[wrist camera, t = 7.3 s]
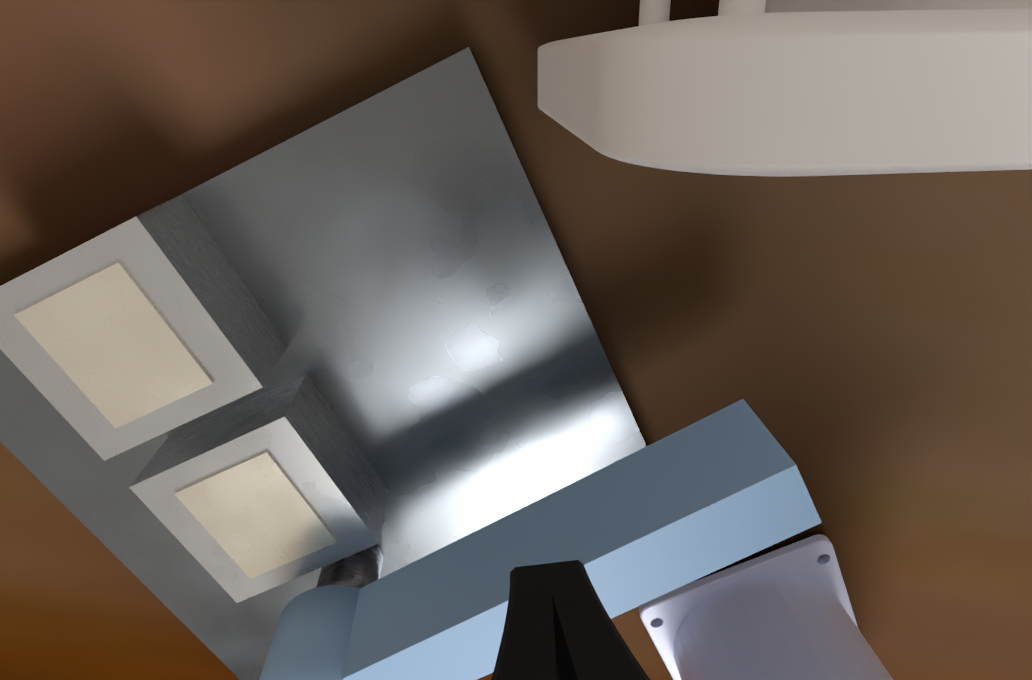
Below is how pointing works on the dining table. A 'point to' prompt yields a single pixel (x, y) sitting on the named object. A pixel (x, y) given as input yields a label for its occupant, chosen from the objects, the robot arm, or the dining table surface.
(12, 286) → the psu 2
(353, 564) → the pivot post
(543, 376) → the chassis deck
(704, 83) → the cable organizer
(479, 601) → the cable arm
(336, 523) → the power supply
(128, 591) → the dining table surface
